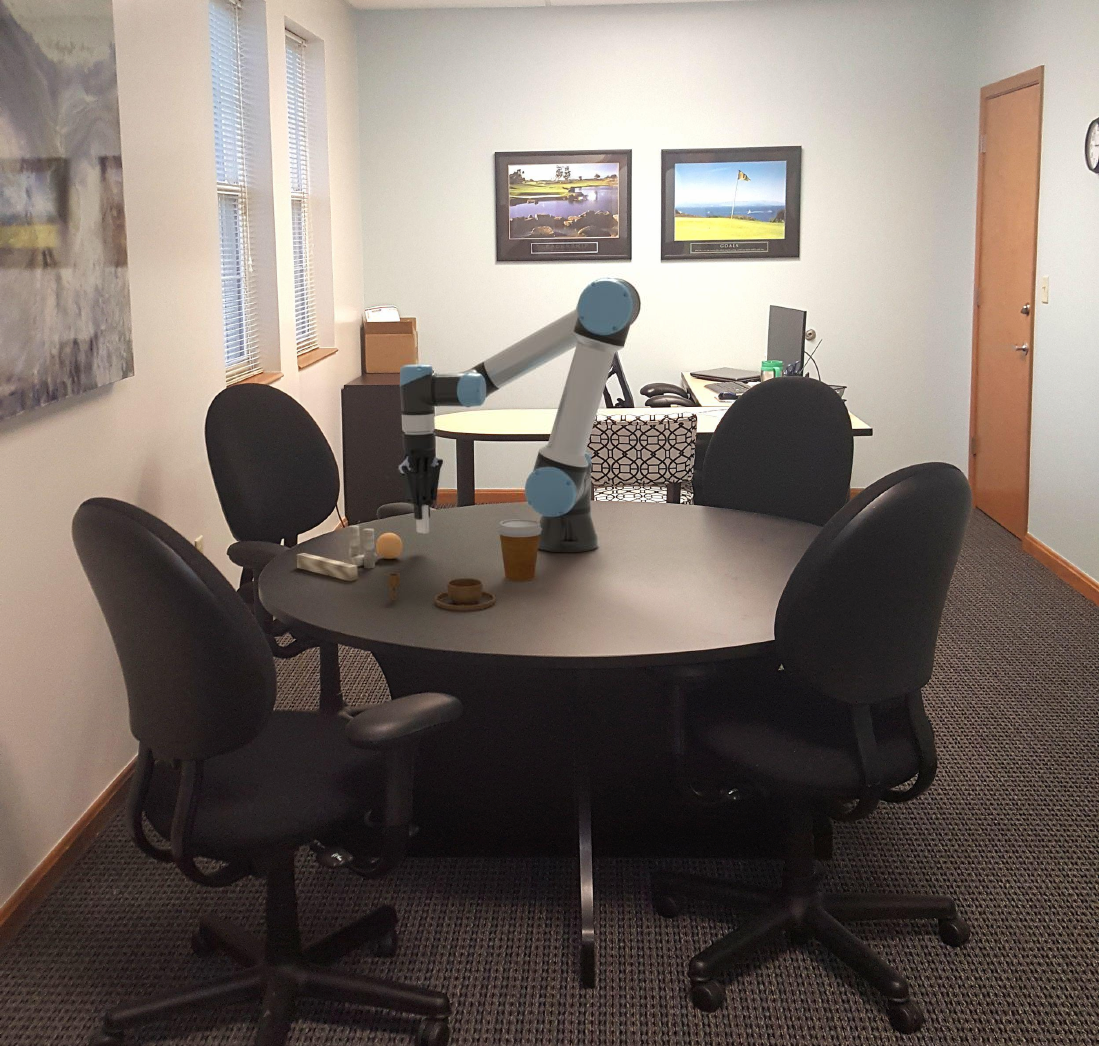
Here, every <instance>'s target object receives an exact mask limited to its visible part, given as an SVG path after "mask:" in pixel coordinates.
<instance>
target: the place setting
mask: <svg viewBox="0 0 1099 1046" xmlns="http://www.w3.org/2000/svg"><path fill="white" fill-rule="evenodd" d="M400 575H401V574H400V573H398V572H397V573H396V572H392V573H391V572H390V573H388V574H387V584H388V585H387V586H388V587H389V588H390V589H391V598H392V599H391V600H392V601H397V596H398V593H397V588H399V587H400V585H401V584H400V583H401V576H400ZM446 584H447V586H446V588H447V589H446V590H447V591H445V592H441V593H439V594H437V595H436V596H435V597H434V603H435V605H436V606H437V607H438V608H441V609H444V608H445V610H448V609H449V610H450V611H457V610H459V612H460V611H461V612H464V611H463V610H470V611H477V609H479V610H483V609H482V608H484V609H488V608H490V607H492V606H493V605H494V604H495V602H496V596H495V595H494V594H493V593H490V592H488V591H484V590H483V581H481V580H480V579H477V578H469V577H467V578H465V577H464V578H455V579H451V580H448V581H447V583H446ZM446 597H449V598H448V599H450V600H451V601H452V602H454V604H448V603H445V602H442V600H441V599H443V600H445V599H447V598H446ZM483 597H486V598H485V599H487V598H488V599H487V600H489V599H490V600H491V601H490V600H489V601H487V602H484V603H479V604H474V603H476V602H478V601H479V600H480V599H481V598H483ZM444 598H445V599H444ZM440 600H441V601H440ZM455 603H456V604H455ZM457 604H458V605H457ZM471 604H473V605H471ZM463 605H464V606H463ZM491 605H492V606H491ZM489 606H490V607H489ZM412 609H414V606H412Z"/></svg>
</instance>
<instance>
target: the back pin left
mask: <svg viewBox="0 0 1099 1046" xmlns="http://www.w3.org/2000/svg"><path fill="white" fill-rule="evenodd" d="M362 533H363V534H362V536H363V538H362V539H363V540H362V541H363V546H362V547H363V555H364V566H363V568H365V569H374V568H375V567H376V563H375V553H376V552H375V549H376V548H375V529H374V528H363V529H362Z"/></svg>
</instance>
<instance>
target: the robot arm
mask: <svg viewBox="0 0 1099 1046" xmlns="http://www.w3.org/2000/svg"><path fill="white" fill-rule="evenodd" d="M641 304H642V303H641V296H640V293H639V292H638V290H637V288H636V287H635V286H634V285H633V284H632V283H631V282H629V281H627V280H625V279H623V278H615V277H614V278H611V277H603V278H599V279H596V280H594V281H592V282H590V284H588V285H587V286H586V287H585V288H584V289H583V290H582V292H581V293H580V295H579V297H578V301H577V303H576V307H575V309H574V310H571V311H570V312H568V313H566V314H564V315H562V316H561V317H559V318H558V319H556V320H554V321H553V322H550V323H548V324H546V325H545V326H543V327H542V328H539V329H538V330H536V331H535V332H533V333H531V334H529V335H528V336H526V337H524V338H522V339H521V340H519V341H517V342H516V343H513V344H512V345H510V346H508V347H507V348H504V349H503V350H501V351H499V352H498V353H496V354H494V355H492V356H491V357H489V358H487V359H485V360H484V361H482V362H479V363H478V364H476V365H475V366H473V367H470V369H467V370H465V371H459V372H457V373H456V372H454V373H453V372H452V373H450V372H449V373H439V372H438V373H437V372H434V370H433V366H432V365H431V364H421V363H419V364H417V363H416V364H405V365H402V366H401V368H400V371H399V392H400V394H399V395H400V408H401V412H400V413H401V429H402V432H404V433H403V434H402V448H403V450H404V458H403V462H402V463H401V464H397V465H396V471H397V472H398V473H399V476H400V480H401V485H402V488H403V493H404V497H405V501H406V503H407V504H408V505H411V506H413V515H414V517H413V518H414V520H416V521H415V523H416V524H415V525H416V527H415V528H416V533H418V534H419V533H420V534H429V533H430V519H429V518H430V517H431V505H434V502H435V501H437V498H438V489H439V483H440V482H439V481H440V477H441V475H440V474H441V469H442V466H443V464H444V460H443V459H441V458H438V457H437V456H436V453H435V450H434V449H436V433H435V432H433V431H435V429H436V425H435V424H436V423H435V407H465V408H471V407H481V406H482V405H484V403H485V401H486V398H488V397H489V396H490V395H491V394H493V393H495V392H497V391H499V390H500V389H502V388H504V387H505V386H507V385H509V384H511V383H513V382H514V381H516V380H518V379H520V378H522V377H524V376H525V375H527V374H529V373H530V372H533V371H534V370H536V369H538V368H540V367H542V366H544V365H546V364H547V363H549V362H550V361H552V360H554V359H556V358H559V357H560V356H562V355H563V354H566V353H567V352H568V351H570V350H572V349H574V348H575V350H574V354H573V356H572V358H571V359H572V360H571V363H570V367H569V370H568V373H567V377H566V380H565V383H564V387H563V391H562V395H561V396H560V397H561V398H560V401H559V404H558V408H557V412H556V415H555V417H554V418H555V419H554V422H553V425H552V428H551V432H550V436H549V439H548V443H547V444H546V445H545V446H543V447H540V449H539V450H538V453H537V456H536V459H535V463H534V467H533V469H532V472H530V474H529V475H528V477H527V479H526V482H525V483H524V484H525V485H524V496H525V499H526V501H527V503H528V505H529V506H530V508H531V509H532V510H533V511H535V512H536V513H538V514H539V515H541V517H540V519H539V521H538V522H539V523H540V526H541V528H542V531H541V534H540V537H539V545H538V550H542V551H546V552H553V553H581V552H582V553H583V552H587V551H592V550H594V549H597V547H599V546H598V543H599V541H598V539H599V538H598V537H599V536H598V535H597V533H596V530H595V526H594V521H593V517H592V514H591V513H592V512H591V511H592V509H591V506H592V505H591V501H592V466H593V464H592V455H591V454H590V453H589V452H586V450H587V447H588V444H589V441H590V437H591V435H592V430H593V428H594V427H593V426H594V424H595V420H596V418H597V414H598V410H599V407H600V404H601V401H602V398H603V394H604V390H605V387H606V384H607V380H608V377H609V374H610V370H611V367H612V364H613V360H614V357H615V354H616V353H617V352H618V351H620V350H622V349H624V348H625V343H626V341H627V338H628V335H629V331H630V330H631V329H630V328H631V326H632V325H633V324H634V323H635V321H637V319H638V317H639V314H640V312H641V306H642V305H641Z"/></svg>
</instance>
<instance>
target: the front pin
mask: <svg viewBox="0 0 1099 1046" xmlns="http://www.w3.org/2000/svg"><path fill="white" fill-rule="evenodd" d="M377 554H378V553H376V552H375V564H376V563H377V562H378V559H379V558H378V557H379V556H378V555H377ZM341 562H344V563H348V564H352V565H356V566H357V568H358V567H359V568H360V567H362V566H363V567H364V554H360V555H359V556H355V557H350V558H349V557H347V558H343V559H342V560H341Z"/></svg>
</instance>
